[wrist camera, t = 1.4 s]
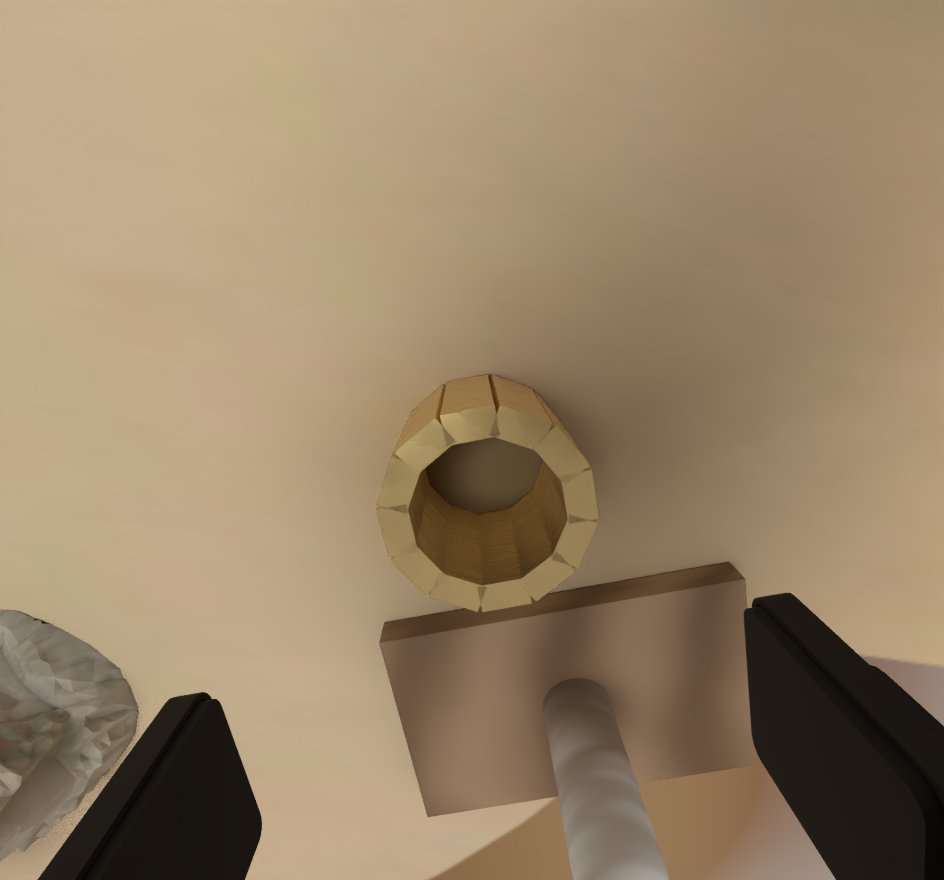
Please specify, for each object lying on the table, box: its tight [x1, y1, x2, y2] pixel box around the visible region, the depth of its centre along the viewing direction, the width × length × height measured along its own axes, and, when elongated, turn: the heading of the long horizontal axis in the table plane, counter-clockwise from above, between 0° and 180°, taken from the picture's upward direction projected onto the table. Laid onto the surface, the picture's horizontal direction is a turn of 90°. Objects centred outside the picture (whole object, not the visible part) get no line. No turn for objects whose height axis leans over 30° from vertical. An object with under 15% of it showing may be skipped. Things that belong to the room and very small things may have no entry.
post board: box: [379, 562, 758, 880], centre depth 22 cm, size 16×10×10 cm, turn 101°
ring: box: [376, 374, 599, 612], centre depth 21 cm, size 7×7×6 cm
